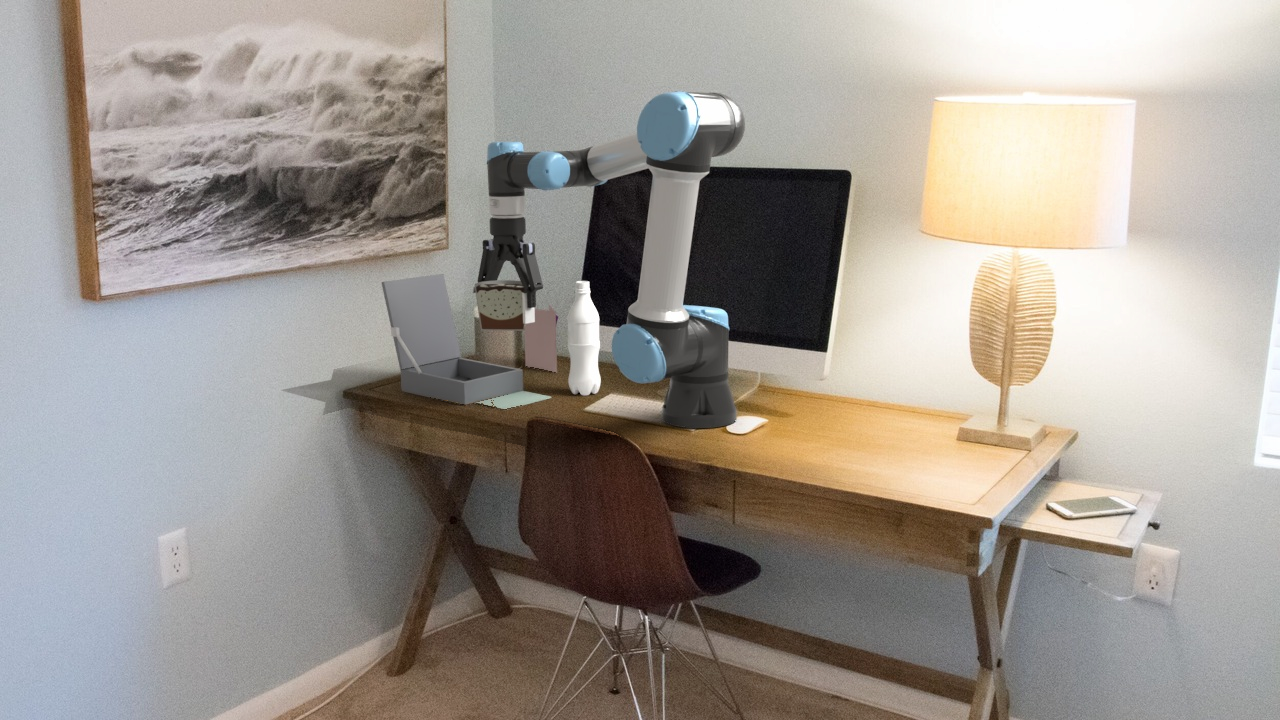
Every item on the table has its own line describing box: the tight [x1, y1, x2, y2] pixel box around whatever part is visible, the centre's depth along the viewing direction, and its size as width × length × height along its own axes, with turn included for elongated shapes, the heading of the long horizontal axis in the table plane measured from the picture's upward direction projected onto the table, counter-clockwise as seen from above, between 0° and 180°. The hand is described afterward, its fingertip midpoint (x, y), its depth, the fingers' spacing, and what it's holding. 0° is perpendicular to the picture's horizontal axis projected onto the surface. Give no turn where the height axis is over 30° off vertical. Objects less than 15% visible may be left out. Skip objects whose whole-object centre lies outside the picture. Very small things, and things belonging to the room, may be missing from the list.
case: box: [380, 273, 524, 404], centre depth 254 cm, size 27×17×25 cm, turn 49°
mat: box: [474, 390, 552, 410], centre depth 246 cm, size 9×14×1 cm, turn 139°
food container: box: [472, 279, 525, 332], centre depth 242 cm, size 12×6×10 cm, turn 87°
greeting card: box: [523, 304, 559, 374], centre depth 276 cm, size 11×7×15 cm, turn 12°
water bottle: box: [566, 280, 602, 397], centre depth 250 cm, size 7×7×25 cm
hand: (510, 319), depth 242 cm, fingers closed on food container, 10 cm apart
